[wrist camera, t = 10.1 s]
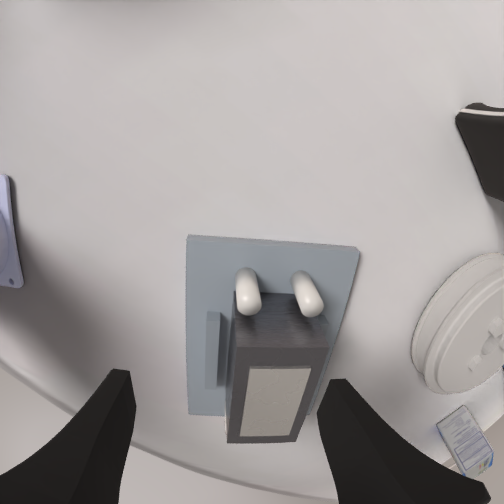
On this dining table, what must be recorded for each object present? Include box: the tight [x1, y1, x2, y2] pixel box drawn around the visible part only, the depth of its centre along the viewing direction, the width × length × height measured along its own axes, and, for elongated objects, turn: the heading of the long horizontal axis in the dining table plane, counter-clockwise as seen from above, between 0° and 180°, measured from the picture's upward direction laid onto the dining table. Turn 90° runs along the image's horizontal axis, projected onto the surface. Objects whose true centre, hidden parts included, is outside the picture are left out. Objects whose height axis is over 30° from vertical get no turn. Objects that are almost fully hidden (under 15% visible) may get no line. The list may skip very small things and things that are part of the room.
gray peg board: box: [186, 235, 360, 435], centre depth 19 cm, size 10×15×4 cm, turn 174°
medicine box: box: [437, 405, 494, 479], centre depth 27 cm, size 8×4×9 cm, turn 36°
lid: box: [411, 253, 504, 394], centre depth 20 cm, size 13×13×5 cm
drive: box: [225, 291, 330, 443], centre depth 18 cm, size 4×8×5 cm, turn 174°
